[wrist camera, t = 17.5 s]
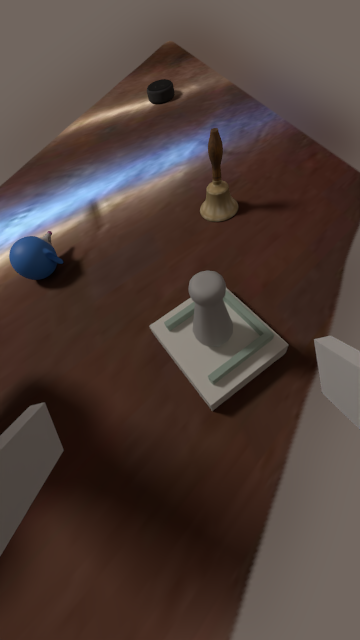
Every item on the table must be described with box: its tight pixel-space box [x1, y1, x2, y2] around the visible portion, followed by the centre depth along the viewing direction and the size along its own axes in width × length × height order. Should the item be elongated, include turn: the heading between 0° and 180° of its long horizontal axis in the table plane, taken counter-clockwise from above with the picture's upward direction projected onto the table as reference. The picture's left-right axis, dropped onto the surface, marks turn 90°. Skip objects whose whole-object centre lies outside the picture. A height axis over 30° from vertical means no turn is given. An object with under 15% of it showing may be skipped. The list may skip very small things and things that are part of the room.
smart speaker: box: [147, 79, 174, 104], centre depth 94 cm, size 9×9×4 cm
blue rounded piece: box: [9, 231, 64, 280], centre depth 58 cm, size 12×12×8 cm
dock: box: [150, 288, 289, 411], centre depth 43 cm, size 16×14×4 cm
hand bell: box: [200, 128, 238, 222], centre depth 55 cm, size 8×8×16 cm
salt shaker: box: [189, 271, 233, 347], centre depth 37 cm, size 6×6×13 cm
